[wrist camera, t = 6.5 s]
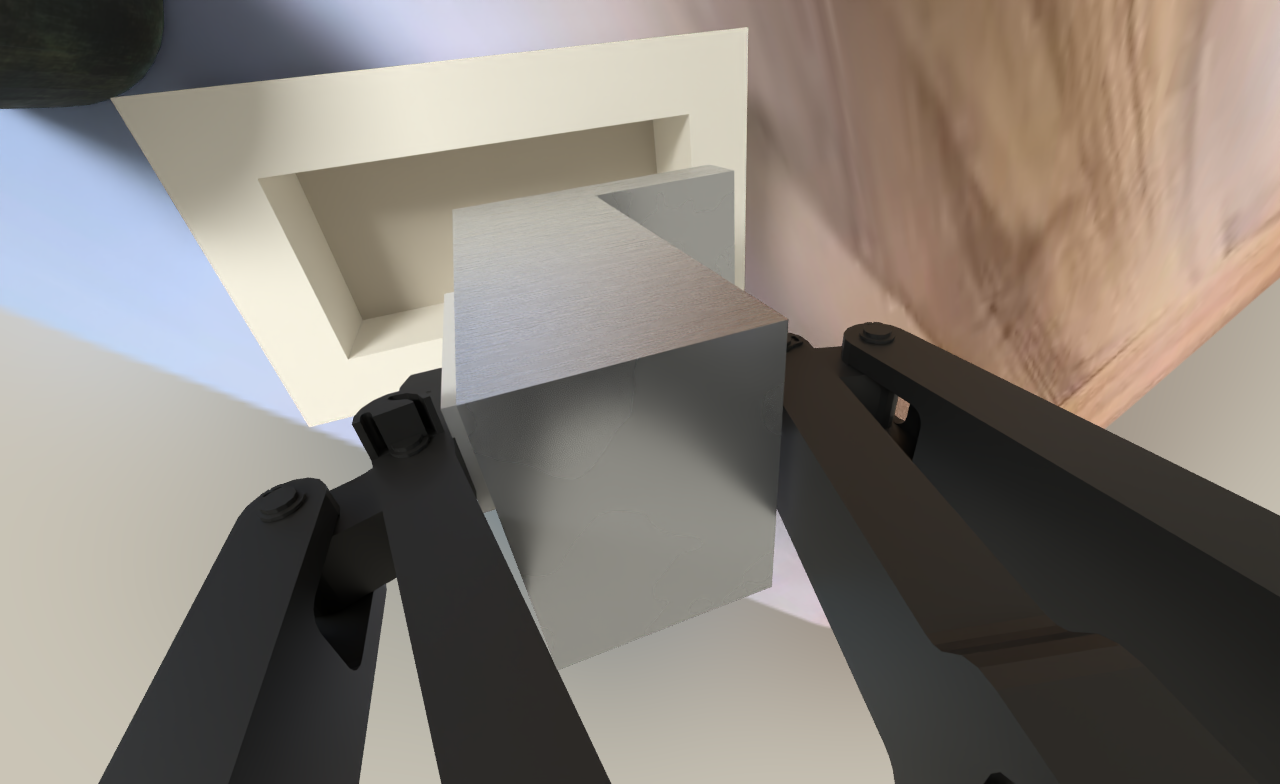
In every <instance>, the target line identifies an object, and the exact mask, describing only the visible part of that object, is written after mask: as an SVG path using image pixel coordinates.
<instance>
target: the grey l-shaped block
mask: <svg viewBox="0 0 1280 784" xmlns="http://www.w3.org/2000/svg"><path fill="white" fill-rule="evenodd" d="M452 218H453V267H454V316H455V364H456V406H457V409H458V411H459V414H460V417H461V419H462V422H463V425H464V427H465V430H466V432H467V435H468V438H469V440H470V443H471V445H472V448H473V451H474V453H475V456H476V459H477V461H478V464H479V466H480V469H481V472H482V474H483V477H484V480H485V482H486V485H487V487H488V490H489V493H490V495H491V498H492V500H493V503H494V506H495V508H496V511H497V513H498V516H499V519H500V521H501V524H502V527H503V529H504V532H505V535H506V537H507V540H508V542H509V545H510V548H511V550H512V553H513V555H514V558H515V561H516V563H517V566H518V569H519V571H520V574H521V576H522V579H523V582H524V584H525V587H526V589H527V592H528V595H529V597H530V600H531V602H532V605H533V608H534V611H535V613H536V616H537V618H538V621H539V623H540V626H541V629H542V631H543V634H544V636H545V639H546V642H547V644H548V647H549V650H550V652H551V655H552V658H553V660H554V663H555V666H556V668H557V670H560V669H563V668H565V667H568V666H570V665H573V664H575V663H578V662H580V661H583V660H586V659H588V658H591V657H593V656H596V655H598V654H601V653H603V652H606V651H608V650H611V649H613V648H616V647H619V646H621V645H624V644H627V643H629V642H632V641H634V640H637V639H639V638H642V637H644V636H647V635H650V634H652V633H655V632H657V631H660V630H662V629H665V628H667V627H670V626H673V625H675V624H677V623H680V622H683V621H685V620H688V619H690V618H693V617H696V616H698V615H700V614H703V613H706V612H708V611H711V610H713V609H716V608H719V607H721V606H724V605H726V604H729V603H731V602H734V601H736V600H739V599H742V598H744V597H747V596H749V595H752V594H754V593H757V592H759V591H762V590H765V589H767V588H770V587H772V573H773V557H774V541H775V525H776V509H777V493H778V477H779V461H780V445H781V429H782V413H783V397H784V381H785V365H786V349H787V333H788V319H787V318H785V317H784V316H782V315H781V314H779V313H778V312H776V311H775V310H773V309H771V308H770V307H768V306H767V305H765V304H764V303H762V302H760V301H759V300H757V299H756V298H754V297H753V296H751V295H750V294H748V293H746V292H745V291H743V290H742V289H740V288H739V287H737V286H735V219H734V170H730V169H726V168H722V167H718V166H714V165H703V166H698V167H692V168H686V169H681V170H675V171H669V172H663V173H658V174H652V175H646V176H641V177H635V178H629V179H624V180H618V181H612V182H606V183H601V184H595V185H589V186H584V187H578V188H572V189H567V190H561V191H555V192H549V193H544V194H538V195H532V196H527V197H521V198H515V199H510V200H504V201H498V202H493V203H487V204H481V205H475V206H470V207H464V208H458V209H453V210H452Z"/></svg>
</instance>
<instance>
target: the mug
mask: <svg viewBox="0 0 1280 784" xmlns="http://www.w3.org/2000/svg"><path fill="white" fill-rule="evenodd" d="M163 28H164V11H163V0H0V109H14V108H49V107H71V106H81V105H90V104H94V103H97V102H101V101H105V100H108V99H110V98H113V97H115V96H117V95H119V94H121V93H123V92H125V91H127V90H129V89H130V88H131V87H132V86H134V85H135V84H136V83H137V82H138V81H140V80H141V79H142V78H143V77H144V75H145V74H146V73H147V71H148V70H149V69H150V67H151V66H152V64H153V63H154V61H155V58H156V56H157V53H158V51H159V48H160V46H161V41H162V34H163Z"/></svg>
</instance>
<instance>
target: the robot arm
mask: <svg viewBox="0 0 1280 784" xmlns="http://www.w3.org/2000/svg"><path fill="white" fill-rule="evenodd" d="M898 396H899V397H901V398H902V399H904V400H905V401H907V402H908V403H910V406H909V410H908V414H907V418H906V420H905V421H904V420H901V419H900V418H898V417H897V416H895V410H896V405H897V401H898ZM352 425H353V427H354V429H355V431H356V433H357V435H358V436H359V438H360V440H361V442H362V444H363V446H364V448H365V450H366V451H367V453H368V455H369V456H370V459H371V461H372V465H373V468H372V469H370V470H369V471H368V472H366V473H365V474H363V475H361V476H359V477H357V478H355V479H354V480H351V481H349V482H347V483H345V484H343V485H341V486H339V487H337V488H335V489H332V490H330V491H329V489H328V488H327V486H326V485H325V484H324V483H323V482H322V481H321V480H320V479H314V478H303V479H296V480H292V481H289V482H287V483H284V484H280V485H277V486H275V487H273V488H271V490H267V491H266V492H265V493H262V494H261V495H260V496H259V497H258V498H256V499H255V500H254V501H253V502H252V503H250V504H249V505H248V506H247V507H246V508H245V509H244V511H243V512H242V513H241V515H240V516H239V517H238V519H237V521H236V523H235V525H234V527H233V528H232V530H231V532H230V534H229V536H228V538H227V540H226V542H225V544H224V545H223V547H222V549H221V551H220V553H219V555H218V557H217V559H216V561H215V563H214V565H213V566H212V568H211V570H210V573H209V574H208V576H207V578H206V580H205V582H204V584H203V585H202V587H201V589H200V591H199V593H198V595H197V597H196V599H195V601H194V603H193V604H192V606H191V609H190V610H189V612H188V614H187V616H186V618H185V620H184V622H183V624H182V625H181V627H180V629H179V631H178V633H177V635H176V637H175V639H174V641H173V643H172V645H171V647H170V649H169V650H168V652H167V654H166V656H165V658H164V660H163V662H162V664H161V665H160V667H159V669H158V671H157V673H156V675H155V677H154V679H153V681H152V683H151V685H150V686H149V688H148V690H147V692H146V694H145V696H144V698H143V700H142V702H141V703H140V705H139V708H138V709H137V711H136V713H135V715H134V717H133V719H132V721H131V723H130V724H129V726H128V728H127V730H126V732H125V734H124V736H123V738H122V740H121V742H120V744H119V745H118V747H117V749H116V751H115V753H114V755H113V757H112V759H111V761H110V763H109V765H108V766H107V768H106V770H105V772H104V774H103V776H102V778H101V780H100V782H99V783H98V784H359V779H360V772H361V765H362V758H363V751H364V744H365V737H366V730H367V723H368V716H369V709H370V703H371V695H372V689H373V681H374V674H375V668H376V661H377V653H378V646H379V640H380V632H381V626H382V619H383V612H384V605H385V598H386V590H387V589H386V583H388V582H390V581H391V580H393V579H395V578H396V577H397V581H398V585H399V590H400V595H401V599H402V603H403V608H404V613H405V617H406V622H407V627H408V631H409V636H410V641H411V645H412V650H413V654H414V659H415V664H416V668H417V673H418V678H419V682H420V687H421V691H422V696H423V701H424V705H425V710H426V715H427V719H428V723H429V728H430V733H431V738H432V742H433V747H434V752H435V756H436V761H437V765H438V770H439V775H440V779H441V784H611V782H610V780H609V778H608V776H607V774H606V772H605V770H604V767H603V765H602V763H601V761H600V759H599V757H598V755H597V753H596V751H595V748H594V746H593V744H592V742H591V740H590V738H589V736H588V734H587V732H586V729H585V727H584V725H583V723H582V721H581V719H580V717H579V715H578V713H577V710H576V708H575V706H574V704H573V702H572V700H571V698H570V696H569V693H568V691H567V689H566V687H565V685H564V683H563V681H562V679H561V677H560V675H559V672H558V670H557V668H556V666H555V664H554V662H553V660H552V657H551V655H550V653H549V651H548V649H547V647H546V645H545V643H544V641H543V639H542V637H541V634H540V632H539V630H538V628H537V626H536V624H535V622H534V620H533V617H532V615H531V613H530V611H529V609H528V607H527V605H526V603H525V600H524V598H523V596H522V594H521V592H520V590H519V588H518V586H517V584H516V581H515V580H514V577H513V575H512V573H511V571H510V569H509V567H508V565H507V562H506V560H505V559H504V556H503V554H502V552H501V550H500V548H499V545H498V543H497V541H496V539H495V537H494V535H493V533H492V531H491V529H490V526H489V525H488V522H487V520H486V518H485V516H484V514H483V513H485V512H488V511H492V510H495V509H496V508H495V506H494V503H493V500H492V498H491V495H490V493H489V490H488V487H487V485H486V482H485V480H484V477H483V474H482V472H481V469H480V466H479V464H478V461H477V459H476V456H475V453H474V451H473V448H472V445H471V443H470V440H469V438H468V435H467V432H466V430H465V427H464V425H463V422H462V419H461V417H460V414H459V411H458V409H457V406H456V364H455V316H454V292H451V293H446V294H444V315H443V348H442V368H438V369H434V370H429V371H425V372H421V373H417V374H413V375H410V376H409V377H408V379H407V380H406V381H405V382H404V383H403V384H402V385H401V387H400V389H399V391H397V392H394V393H390V394H386V395H384V396H382V397H380V398H377V399H375V400H373V401H371V402H370V403H368V404H367V405H365V406H364V407H362V408H361V409H360V410H359V411H358V412H357V414H356V415H355V416H354V418H353V422H352ZM477 500H478V501H477ZM777 510H778V512H779V514H780V516H781V518H782V520H783V523H784V525H785V527H786V529H787V531H788V534H789V536H790V538H791V540H792V542H793V545H794V547H795V549H796V551H797V553H798V556H799V558H800V560H801V562H802V564H803V567H804V569H805V571H806V573H807V575H808V578H809V580H810V582H811V584H812V586H813V589H814V591H815V593H816V595H817V597H818V600H819V602H820V604H821V606H822V608H823V611H824V613H825V615H826V617H827V619H828V622H829V624H830V626H831V628H832V630H833V633H834V635H835V637H836V639H837V641H838V644H839V646H840V648H841V650H842V652H843V655H844V657H845V659H846V661H847V663H848V666H849V668H850V670H851V672H852V674H853V676H854V679H855V681H856V683H857V685H858V688H859V690H860V692H861V694H862V696H863V698H864V701H865V703H866V705H867V707H868V709H869V711H870V714H871V716H872V718H873V720H874V723H875V725H876V727H877V729H878V731H879V734H880V736H881V738H882V740H883V742H884V745H885V747H886V750H887V752H888V755H889V758H890V761H891V765H892V768H893V774H894V780H895V784H1280V516H1279V515H1277V514H1275V513H1273V512H1271V511H1269V510H1267V509H1265V508H1263V507H1261V506H1259V505H1257V504H1255V503H1253V502H1251V501H1249V500H1247V499H1245V498H1243V497H1241V496H1239V495H1237V494H1235V493H1233V492H1231V491H1229V490H1226V489H1225V488H1223V487H1221V486H1219V485H1217V484H1214V483H1213V482H1211V481H1208V480H1207V479H1204V478H1202V477H1200V476H1198V475H1196V474H1194V473H1192V472H1190V471H1188V470H1186V469H1184V468H1182V467H1180V466H1178V465H1176V464H1174V463H1172V462H1170V461H1168V460H1166V459H1164V458H1162V457H1160V456H1158V455H1155V454H1154V453H1152V452H1150V451H1148V450H1145V449H1144V448H1142V447H1140V446H1138V445H1135V444H1134V443H1131V442H1129V441H1127V440H1125V439H1123V438H1121V437H1119V436H1117V435H1115V434H1113V433H1111V432H1109V431H1107V430H1105V429H1103V428H1101V427H1099V426H1097V425H1095V424H1093V423H1091V422H1089V421H1087V420H1085V419H1083V418H1081V417H1079V416H1077V415H1075V414H1073V413H1071V412H1069V411H1067V410H1065V409H1063V408H1061V407H1059V406H1056V405H1054V404H1052V403H1050V402H1048V401H1046V400H1044V399H1042V398H1040V397H1038V396H1036V395H1034V394H1032V393H1030V392H1028V391H1026V390H1024V389H1022V388H1020V387H1018V386H1016V385H1014V384H1012V383H1010V382H1008V381H1006V380H1004V379H1002V378H1000V377H998V376H996V375H994V374H992V373H990V372H988V371H986V370H984V369H981V368H979V367H977V366H975V365H973V364H971V363H969V362H967V361H965V360H963V359H961V358H959V357H957V356H955V355H953V354H951V353H949V352H947V351H945V350H943V349H941V348H939V347H937V346H935V345H933V344H931V343H929V342H927V341H925V340H923V339H921V338H919V337H917V336H915V335H913V334H911V333H908V332H906V331H904V330H902V329H900V328H897V327H894V326H892V325H886V324H882V323H880V322H874V323H872V322H867V323H864V324H858V325H854V326H852V327H850V328H847V330H846V331H845V332H844V336H843V343H842V346H839V347H827V348H813V347H812V346H811V345H810V343H809V342H808V341H807V340H805V339H804V338H803V337H801V336H798V335H795V334H792V333H787V349H786V365H785V381H784V397H783V413H782V429H781V445H780V461H779V477H778V493H777Z"/></svg>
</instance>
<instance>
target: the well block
mask: <svg viewBox="0 0 1280 784" xmlns="http://www.w3.org/2000/svg"><path fill="white" fill-rule="evenodd" d="M747 74H748V27H745V28H736V29H727V30H718V31H709V32H700V33H690V34H681V35H672V36H663V37H654V38H645V39H636V40H627V41H618V42H609V43H600V44H591V45H582V46H573V47H564V48H555V49H546V50H537V51H528V52H519V53H510V54H501V55H492V56H483V57H474V58H465V59H456V60H447V61H438V62H429V63H420V64H411V65H402V66H392V67H383V68H374V69H365V70H356V71H347V72H338V73H329V74H320V75H311V76H302V77H293V78H284V79H275V80H266V81H257V82H248V83H239V84H230V85H221V86H212V87H203V88H194V89H185V90H176V91H167V92H158V93H149V94H140V95H131V96H122V97H113V98H110V99H111V101H112V102H113V104H114V105H115V107H116V109H117V110H118V112H119V114H120V115H121V117H122V119H123V120H124V122H125V124H126V125H127V127H128V129H129V130H130V132H131V134H132V135H133V137H134V138H135V140H136V142H137V143H138V145H139V147H140V148H141V150H142V152H143V153H144V155H145V157H146V158H147V160H148V162H149V163H150V165H151V167H152V168H153V170H154V171H155V173H156V175H157V176H158V178H159V180H160V181H161V183H162V185H163V186H164V188H165V190H166V191H167V193H168V195H169V196H170V198H171V200H172V201H173V203H174V205H175V206H176V208H177V209H178V211H179V213H180V214H181V216H182V218H183V219H184V221H185V223H186V224H187V226H188V228H189V229H190V231H191V233H192V234H193V236H194V238H195V239H196V241H197V242H198V244H199V246H200V247H201V249H202V251H203V252H204V254H205V256H206V257H207V259H208V261H209V262H210V264H211V266H212V267H213V269H214V271H215V272H216V274H217V276H218V277H219V279H220V280H221V282H222V284H223V285H224V287H225V289H226V290H227V292H228V294H229V295H230V297H231V299H232V300H233V302H234V304H235V305H236V307H237V309H238V310H239V312H240V313H241V315H242V317H243V318H244V320H245V322H246V323H247V325H248V327H249V328H250V330H251V332H252V333H253V335H254V337H255V338H256V340H257V342H258V343H259V345H260V347H261V348H262V350H263V351H264V353H265V355H266V356H267V358H268V360H269V361H270V363H271V365H272V366H273V368H274V370H275V371H276V373H277V375H278V376H279V378H280V380H281V381H282V383H283V384H284V386H285V388H286V389H287V391H288V393H289V394H290V396H291V398H292V399H293V401H294V403H295V404H296V406H297V408H298V409H299V411H300V413H301V414H302V416H303V417H304V419H305V421H306V422H307V424H308V426H309V427H312V426H316V425H320V424H324V423H328V422H332V421H336V420H340V419H344V418H348V417H352V416H355V415H356V414H357V412H358V411H359V410H360V409H361V408H362V407H364V406H365V405H367V404H368V403H370V402H371V401H373V400H375V399H377V398H380V397H382V396H384V395H386V394H390V393H394V392H397V391H399V389H400V387H401V385H402V384H403V383H404V382H405V381H406V380H407V379H408V377H409V376H410V375H413V374H417V373H421V372H425V371H429V370H434V369H438V368H442V348H443V315H444V294H446V293H451V292H454V267H453V218H452V210H453V209H458V208H464V207H470V206H475V205H481V204H487V203H493V202H498V201H504V200H510V199H515V198H521V197H527V196H532V195H538V194H544V193H549V192H555V191H561V190H567V189H572V188H578V187H584V186H589V185H595V184H601V183H606V182H612V181H618V180H624V179H629V178H635V177H641V176H646V175H652V174H658V173H663V172H669V171H675V170H681V169H686V168H692V167H698V166H703V165H714V166H718V167H722V168H726V169H730V170H734V219H735V286H737V287H739V288H740V289H742V290H743V291H744V285H745V215H746V145H747Z"/></svg>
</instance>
